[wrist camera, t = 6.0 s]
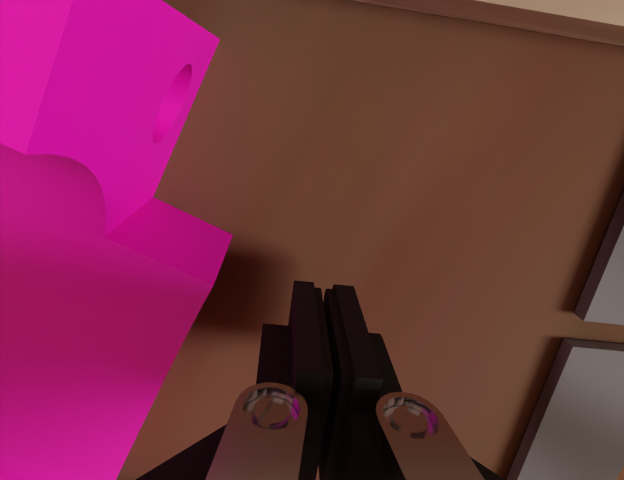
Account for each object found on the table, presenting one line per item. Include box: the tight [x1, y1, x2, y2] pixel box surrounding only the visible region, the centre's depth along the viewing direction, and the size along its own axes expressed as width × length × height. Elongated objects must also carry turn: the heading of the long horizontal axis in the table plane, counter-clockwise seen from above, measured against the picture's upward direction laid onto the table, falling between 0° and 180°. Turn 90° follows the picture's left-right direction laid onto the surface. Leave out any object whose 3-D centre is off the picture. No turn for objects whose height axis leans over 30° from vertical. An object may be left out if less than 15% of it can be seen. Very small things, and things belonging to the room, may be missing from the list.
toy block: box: [0, 0, 233, 480], centre depth 9 cm, size 15×6×8 cm, turn 152°
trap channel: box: [353, 0, 624, 480], centre depth 11 cm, size 19×32×4 cm, turn 82°
